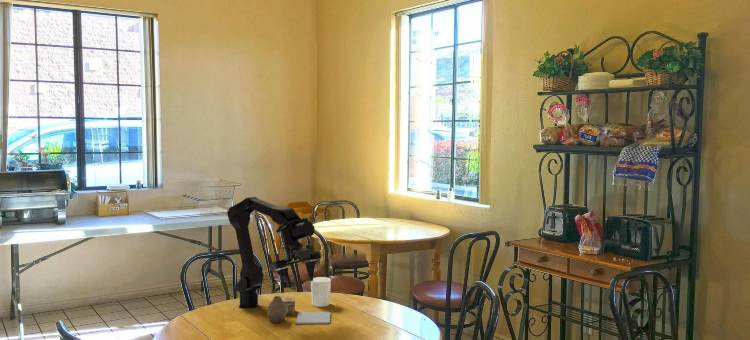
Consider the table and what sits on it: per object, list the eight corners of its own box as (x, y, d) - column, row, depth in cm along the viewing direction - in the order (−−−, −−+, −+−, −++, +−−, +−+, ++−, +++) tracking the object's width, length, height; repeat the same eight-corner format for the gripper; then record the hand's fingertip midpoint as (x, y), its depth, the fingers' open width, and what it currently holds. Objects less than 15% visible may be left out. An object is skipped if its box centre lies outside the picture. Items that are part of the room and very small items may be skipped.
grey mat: (296, 324, 223) (296, 322, 223) (298, 313, 235) (298, 312, 235) (329, 323, 224) (329, 322, 223) (330, 313, 235) (330, 312, 235)
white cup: (321, 308, 242) (321, 283, 241) (306, 304, 246) (306, 279, 246) (334, 304, 248) (334, 279, 247) (319, 300, 253) (320, 276, 252)
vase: (288, 318, 229) (289, 294, 229) (284, 324, 223) (284, 300, 222) (270, 317, 230) (270, 294, 229) (265, 323, 223) (265, 299, 223)
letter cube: (280, 314, 234) (280, 301, 233) (281, 310, 239) (281, 297, 238) (294, 314, 234) (294, 301, 234) (295, 310, 239) (295, 297, 239)
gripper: (278, 243, 217) (289, 288, 215) (323, 233, 228) (334, 275, 226) (264, 248, 226) (274, 291, 224) (308, 238, 237) (318, 278, 235)
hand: (301, 284), depth 227 cm, fingers open, 9 cm apart
